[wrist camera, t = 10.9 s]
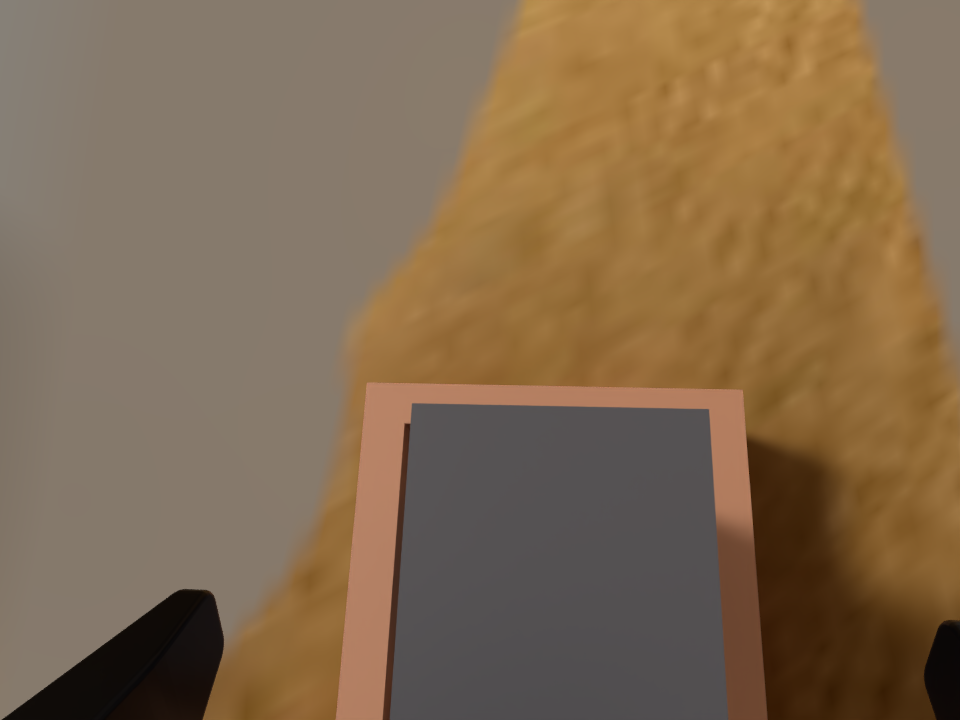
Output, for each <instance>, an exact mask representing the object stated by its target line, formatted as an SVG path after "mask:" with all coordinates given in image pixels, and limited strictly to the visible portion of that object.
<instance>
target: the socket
mask: <svg viewBox="0 0 960 720" xmlns="http://www.w3.org/2000/svg"><path fill="white" fill-rule="evenodd" d="M412 403H428V404H478V405H529V406H580V407H630V408H681V409H709V415H710V431H711V447H712V463H713V480H714V496H715V512H716V528H717V544H718V561H719V577H720V593H721V609H722V625H723V641H724V658H725V674H726V690H727V706H728V720H768V718H767V705H766V691H765V678H764V665H763V652H762V639H761V625H760V612H759V599H758V586H757V573H756V559H755V546H754V533H753V520H752V507H751V493H750V480H749V467H748V454H747V441H746V427H745V414H744V401H743V390H725V389H673V388H621V387H569V386H517V385H465V384H413V383H367V389H366V400H365V411H364V422H363V432H362V443H361V454H360V465H359V476H358V487H357V497H356V508H355V519H354V530H353V541H352V551H351V562H350V573H349V584H348V595H347V605H346V616H345V627H344V638H343V649H342V660H341V670H340V681H339V692H338V703H337V714H336V720H390V708H391V694H392V679H393V665H394V651H395V637H396V623H397V608H398V594H399V580H400V566H401V551H402V537H403V523H404V509H405V494H406V480H407V466H408V452H409V438H410V423H411V409H412Z"/></svg>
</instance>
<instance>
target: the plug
mask: <svg viewBox="0 0 960 720" xmlns="http://www.w3.org/2000/svg"><path fill="white" fill-rule="evenodd" d="M390 720H728V706H727V690H726V674H725V658H724V641H723V625H722V609H721V593H720V577H719V561H718V544H717V528H716V512H715V496H714V480H713V463H712V447H711V431H710V415H709V409H681V408H630V407H580V406H529V405H478V404H428V403H412V409H411V423H410V438H409V452H408V466H407V480H406V494H405V509H404V523H403V537H402V551H401V566H400V580H399V594H398V608H397V623H396V637H395V651H394V665H393V679H392V694H391V708H390Z"/></svg>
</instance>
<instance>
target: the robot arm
mask: <svg viewBox="0 0 960 720" xmlns="http://www.w3.org/2000/svg"><path fill="white" fill-rule="evenodd" d="M223 649H224V636H223V631H222V627H221V622H220V618H219V614H218V609H217V605H216V601H215V598H214V595H213V594H212V593H211V592H210V591H207V590H194V589H182V590H179V591H177V592H175V593H173V594H172V595H170V596H169V597H168V598H166V599H165V600H164V601H162V602H161V603H160V604H158V605H157V606H155V607H154V608H153V609H151V610H150V611H149V612H148V613H146V614H145V615H143V616H142V617H141V618H139V619H138V620H136V621H135V622H134V623H133V624H131V625H130V626H128V627H127V628H126V629H124V630H123V631H121V632H120V633H119V634H117V635H116V636H115V637H113V638H112V639H111V640H109V641H108V642H107V643H105V644H104V645H102V646H101V647H100V648H98V649H97V650H96V651H94V652H93V653H92V654H90V655H89V656H88V657H86V658H85V659H84V660H82V661H81V662H79V663H78V664H77V665H75V666H74V667H73V668H71V669H70V670H69V671H67V672H66V673H64V674H63V675H62V676H60V677H59V678H58V679H56V680H55V681H54V682H52V683H51V684H50V685H48V686H47V687H45V688H44V689H43V690H41V691H40V692H39V693H37V694H36V695H35V696H33V697H32V698H31V699H29V700H28V701H27V702H25V703H24V704H23V705H21V706H20V707H18V708H17V709H16V710H14V711H13V712H12V713H10V714H9V715H7V716H6V717H5V718H3V719H2V720H203V717H204V713H205V710H206V707H207V704H208V700H209V697H210V694H211V691H212V687H213V684H214V681H215V678H216V674H217V671H218V668H219V664H220V661H221V658H222V654H223ZM924 681H925V686H926V690H927V693H928V696H929V699H930V702H931V705H932V708H933V711H934V714H935V717H936V720H960V620H947V621H944V622H943V623H942V624H941V625H940V626H939V628H938V630H937V633H936V636H935V639H934V642H933V645H932V648H931V651H930V654H929V657H928V660H927V663H926V665H925V670H924Z"/></svg>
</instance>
